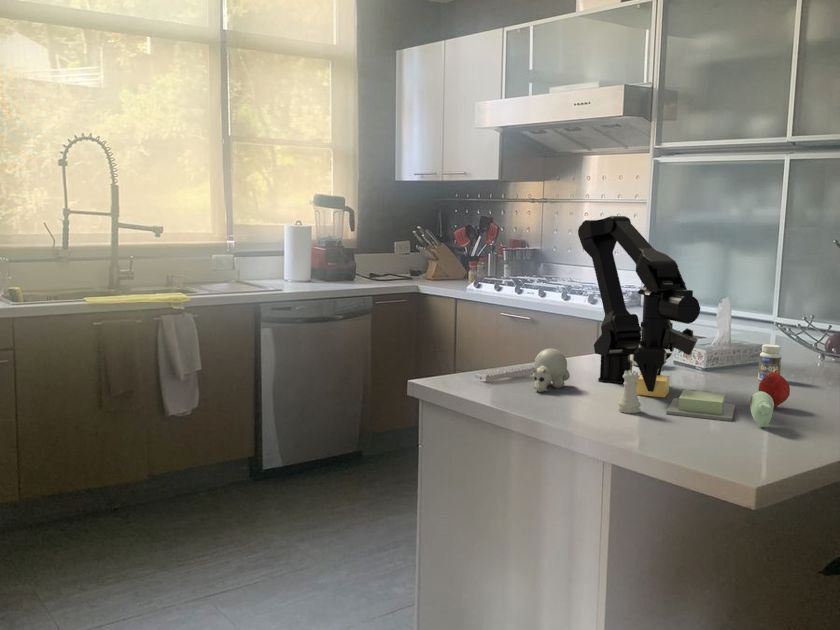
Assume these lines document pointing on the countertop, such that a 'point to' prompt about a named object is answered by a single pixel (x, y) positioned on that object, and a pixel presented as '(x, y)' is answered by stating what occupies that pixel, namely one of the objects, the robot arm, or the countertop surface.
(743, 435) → the countertop surface
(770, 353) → the pill bottle
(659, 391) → the ochre brick
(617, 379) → the robot arm
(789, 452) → the countertop surface
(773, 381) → the onion
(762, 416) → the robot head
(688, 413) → the baseplate
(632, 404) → the rook chess piece
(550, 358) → the cream plastic animal figure
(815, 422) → the countertop surface
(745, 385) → the countertop surface
